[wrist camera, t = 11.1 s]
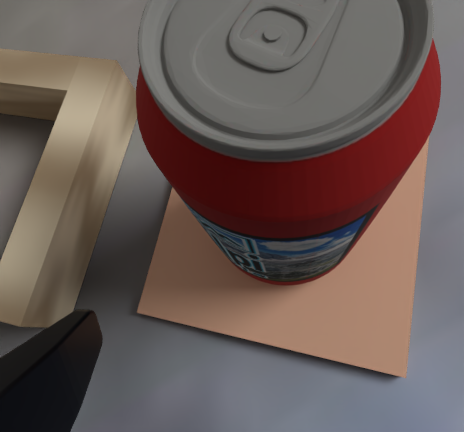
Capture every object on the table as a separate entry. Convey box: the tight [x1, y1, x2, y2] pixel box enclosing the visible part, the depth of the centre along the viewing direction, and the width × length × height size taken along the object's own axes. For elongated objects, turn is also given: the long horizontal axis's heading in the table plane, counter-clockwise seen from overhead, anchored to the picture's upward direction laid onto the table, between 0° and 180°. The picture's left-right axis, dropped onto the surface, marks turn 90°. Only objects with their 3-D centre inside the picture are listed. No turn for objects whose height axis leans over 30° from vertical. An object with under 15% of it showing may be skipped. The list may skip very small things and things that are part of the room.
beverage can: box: [136, 0, 441, 285], centre depth 13 cm, size 7×7×12 cm
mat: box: [137, 137, 429, 378], centre depth 19 cm, size 12×12×1 cm
